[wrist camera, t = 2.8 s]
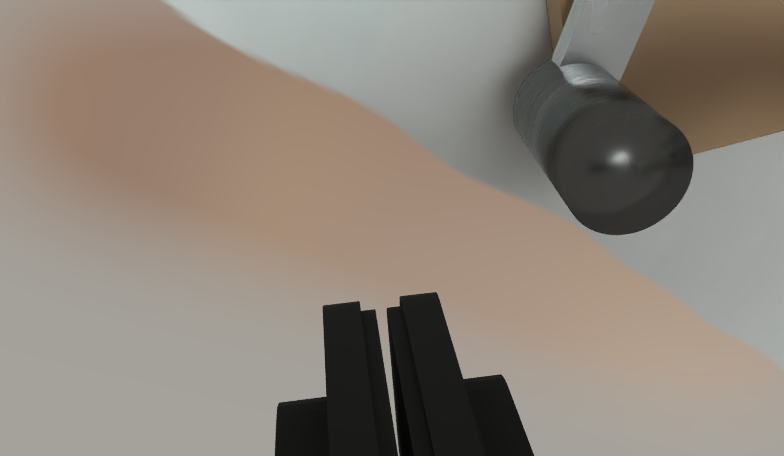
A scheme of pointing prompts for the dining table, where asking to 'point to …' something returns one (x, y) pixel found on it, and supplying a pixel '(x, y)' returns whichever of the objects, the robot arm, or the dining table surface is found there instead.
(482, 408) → the robot arm
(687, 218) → the dining table surface
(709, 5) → the board
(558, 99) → the lever
